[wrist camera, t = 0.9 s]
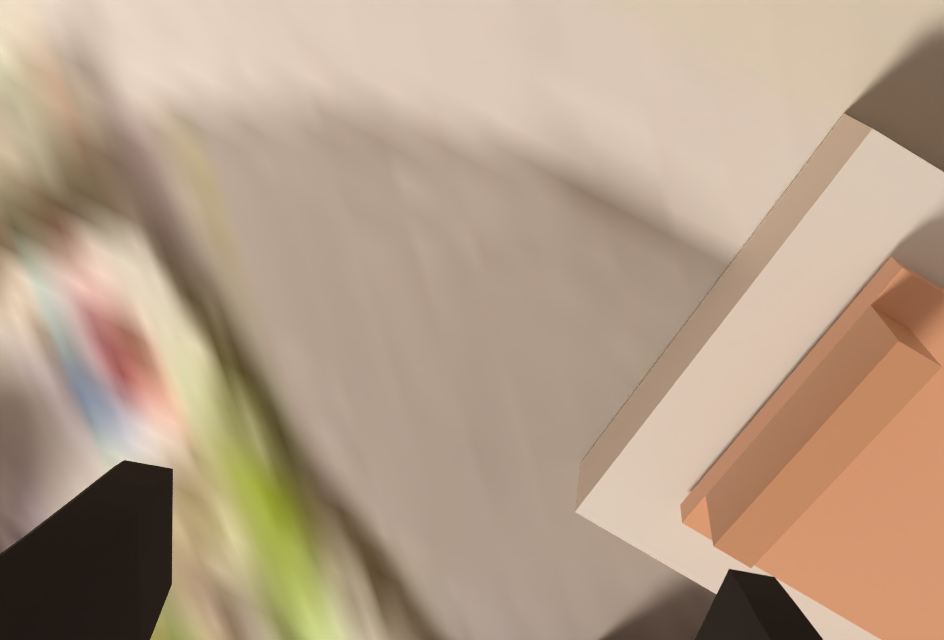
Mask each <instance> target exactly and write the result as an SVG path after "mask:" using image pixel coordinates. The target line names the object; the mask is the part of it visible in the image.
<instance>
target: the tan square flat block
mask: <svg viewBox="0 0 944 640" xmlns="http://www.w3.org/2000/svg"><path fill="white" fill-rule="evenodd" d="M680 508H681V518H682V523H683V524H685V525H686V526H688V527H690V528H691V529H693V530H695V531H697V532H698V533H700V534H702V535H703V536H705V537H707V538H708V539H710V540H712V541H713V546H714V547H716V548H717V549H719V550H721V551H722V552H724V553H726V554H728V555H729V556H731V557H733V558H734V559H736V560H738V561H739V562H741V563H743V564H745V565H746V566H748V567H750V568H752V567H753V566H754V565H755V566H756V567H758V568H760V569H761V570H763V571H765V572H766V573H768V574H770V575H772V576H773V577H775V578H777V579H778V580H780V581H782V582H783V583H785V584H787V585H789V586H790V587H792V588H794V589H795V590H797V591H799V592H801V593H802V594H804V595H806V596H807V597H809V598H811V599H812V600H814V601H816V602H818V603H819V604H821V605H823V606H824V607H826V608H828V609H830V610H831V611H833V612H835V613H836V614H838V615H840V616H841V617H843V618H845V619H847V620H848V621H850V622H852V623H853V624H855V625H857V626H858V627H860V628H862V629H864V630H865V631H867V632H869V633H870V634H872V635H874V636H876V637H877V638H879V639H881V640H944V288H942V287H940V286H939V285H937V284H935V283H934V282H932V281H930V280H929V279H927V278H925V277H924V276H922V275H921V274H919V273H917V272H916V271H914V270H912V269H911V268H909V267H907V266H906V265H904V264H902V263H901V262H899V261H897V260H896V259H894V258H892V257H890V259H889V260H888V261H887V262H886V263H885V264H884V266H883V267H882V268H881V269H880V270H879V272H878V273H877V274H876V275H875V276H874V277H873V279H872V280H871V281H870V282H869V283H868V284H867V286H866V287H865V288H864V289H863V290H862V291H861V293H860V294H859V295H858V296H857V297H856V299H855V300H854V301H853V302H852V303H851V304H850V306H849V307H848V308H847V309H846V310H845V311H844V313H843V314H842V315H841V316H840V317H839V319H838V320H837V321H836V322H835V323H834V324H833V326H832V327H831V328H830V329H829V330H828V331H827V333H826V334H825V335H824V336H823V337H822V339H821V340H820V341H819V342H818V343H817V344H816V346H815V347H814V348H813V349H812V350H811V351H810V353H809V354H808V355H807V356H806V357H805V359H804V360H803V361H802V362H801V363H800V364H799V366H798V367H797V368H796V369H795V370H794V371H793V373H792V374H791V375H790V376H789V377H788V378H787V380H786V381H785V382H784V383H783V384H782V386H781V387H780V388H779V389H778V390H777V391H776V393H775V394H774V395H773V396H772V397H771V398H770V400H769V401H768V402H767V403H766V404H765V406H764V407H763V408H762V409H761V410H760V411H759V413H758V414H757V415H756V416H755V417H754V418H753V420H752V421H751V422H750V423H749V424H748V426H747V427H746V428H745V429H744V430H743V431H742V433H741V434H740V435H739V436H738V437H737V438H736V440H735V441H734V442H733V443H732V444H731V445H730V447H729V448H728V449H727V450H726V451H725V453H724V454H723V455H722V456H721V457H720V458H719V460H718V461H717V462H716V463H715V464H714V465H713V467H712V468H711V469H710V470H709V471H708V473H707V474H706V475H705V476H704V477H703V478H702V480H701V481H700V482H699V483H698V484H697V485H696V487H695V488H694V489H693V490H692V491H691V493H690V494H689V495H688V496H687V497H686V498H685V500H684V501H683V502H682V503H681V504H680Z"/></svg>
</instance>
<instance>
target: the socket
mask: <svg viewBox="0 0 944 640" xmlns="http://www.w3.org/2000/svg"><path fill="white" fill-rule="evenodd" d="M890 257H892V258H894V259H896V260H897V261H899V262H901V263H902V264H904V265H906V266H907V267H909V268H911V269H912V270H914V271H916V272H917V273H919V274H921V275H922V276H924V277H925V278H927V279H929V280H930V281H932V282H934V283H935V284H937V285H939V286H940V287H942V288H944V172H943V171H941V170H939V169H938V168H936V167H935V166H933V165H931V164H930V163H928V162H926V161H925V160H923V159H922V158H920V157H918V156H917V155H915V154H913V153H912V152H910V151H908V150H907V149H905V148H904V147H902V146H900V145H899V144H897V143H895V142H894V141H892V140H891V139H889V138H887V137H886V136H884V135H882V134H881V133H879V132H877V131H876V130H874V129H873V128H871V127H869V126H867V125H865V124H863V123H861V122H859V121H857V120H856V119H854V118H852V117H850V116H848V115H846V114H843V115H842V116H841V118H840V119H839V120H838V122H837V123H836V124H835V126H834V127H833V128H832V130H831V131H830V132H829V134H828V135H827V136H826V138H825V139H824V140H823V142H822V143H821V144H820V146H819V147H818V148H817V150H816V151H815V152H814V154H813V155H812V156H811V158H810V159H809V160H808V162H807V163H806V164H805V166H804V167H803V168H802V170H801V171H800V172H799V174H798V175H797V176H796V178H795V179H794V180H793V182H792V183H791V184H790V186H789V187H788V188H787V190H786V191H785V192H784V194H783V195H782V196H781V197H780V199H779V200H778V201H777V203H776V204H775V205H774V207H773V208H772V209H771V211H770V212H769V213H768V215H767V216H766V217H765V219H764V220H763V221H762V223H761V224H760V225H759V227H758V228H757V229H756V231H755V232H754V233H753V235H752V236H751V237H750V239H749V240H748V241H747V243H746V244H745V245H744V247H743V248H742V249H741V251H740V252H739V253H738V255H737V256H736V257H735V259H734V260H733V261H732V263H731V264H730V265H729V267H728V268H727V269H726V271H725V272H724V273H723V274H722V276H721V277H720V278H719V280H718V281H717V282H716V284H715V285H714V286H713V288H712V289H711V290H710V292H709V293H708V294H707V296H706V297H705V298H704V300H703V301H702V302H701V304H700V305H699V306H698V308H697V309H696V310H695V312H694V313H693V314H692V316H691V317H690V318H689V320H688V321H687V322H686V324H685V325H684V326H683V328H682V329H681V330H680V332H679V333H678V334H677V336H676V337H675V338H674V340H673V341H672V342H671V344H670V345H669V346H668V348H667V349H666V350H665V352H664V353H663V354H662V355H661V357H660V358H659V359H658V361H657V362H656V363H655V365H654V366H653V367H652V369H651V370H650V371H649V373H648V374H647V375H646V377H645V378H644V379H643V381H642V382H641V383H640V385H639V386H638V387H637V389H636V390H635V391H634V393H633V394H632V395H631V397H630V398H629V399H628V401H627V402H626V403H625V405H624V406H623V407H622V409H621V410H620V411H619V413H618V414H617V415H616V417H615V418H614V419H613V421H612V422H611V423H610V425H609V426H608V427H607V429H606V430H605V431H604V433H603V434H602V435H601V436H600V438H599V439H598V440H597V442H596V443H595V444H594V446H593V447H592V448H591V450H590V451H589V452H588V454H587V455H586V456H585V458H584V459H583V460H582V462H581V463H580V470H579V479H578V489H577V498H576V508H575V512H576V513H578V514H580V515H581V516H583V517H585V518H587V519H588V520H590V521H592V522H593V523H595V524H597V525H598V526H600V527H602V528H604V529H605V530H607V531H609V532H610V533H612V534H614V535H616V536H617V537H619V538H621V539H622V540H624V541H626V542H628V543H629V544H631V545H633V546H634V547H636V548H638V549H640V550H641V551H643V552H645V553H646V554H648V555H650V556H652V557H653V558H655V559H657V560H658V561H660V562H662V563H664V564H665V565H667V566H669V567H670V568H672V569H674V570H676V571H677V572H679V573H681V574H682V575H684V576H686V577H688V578H689V579H691V580H693V581H694V582H696V583H698V584H700V585H701V586H703V587H705V588H706V589H708V590H710V591H711V592H713V593H715V594H717V593H718V591H719V589H720V586H721V584H722V582H723V580H724V578H725V576H726V574H727V572H728V570H729V569H733V570H739V571H744V572H750V573H756V574H761V575H767V576H772V575H770V574H768V573H766V572H765V571H763V570H761V569H760V568H758V567H756V566H755V565H754V566H753V567H752V568H750V567H748V566H746V565H745V564H743V563H741V562H739V561H738V560H736V559H734V558H733V557H731V556H729V555H728V554H726V553H724V552H722V551H721V550H719V549H717V548H716V547H714V546H713V541H712V540H710V539H708V538H707V537H705V536H703V535H702V534H700V533H698V532H697V531H695V530H693V529H691V528H690V527H688V526H686V525H685V524H683V523H682V518H681V508H680V504H681V503H682V502H683V501H684V500H685V498H686V497H687V496H688V495H689V494H690V493H691V491H692V490H693V489H694V488H695V487H696V485H697V484H698V483H699V482H700V481H701V480H702V478H703V477H704V476H705V475H706V474H707V473H708V471H709V470H710V469H711V468H712V467H713V465H714V464H715V463H716V462H717V461H718V460H719V458H720V457H721V456H722V455H723V454H724V453H725V451H726V450H727V449H728V448H729V447H730V445H731V444H732V443H733V442H734V441H735V440H736V438H737V437H738V436H739V435H740V434H741V433H742V431H743V430H744V429H745V428H746V427H747V426H748V424H749V423H750V422H751V421H752V420H753V418H754V417H755V416H756V415H757V414H758V413H759V411H760V410H761V409H762V408H763V407H764V406H765V404H766V403H767V402H768V401H769V400H770V398H771V397H772V396H773V395H774V394H775V393H776V391H777V390H778V389H779V388H780V387H781V386H782V384H783V383H784V382H785V381H786V380H787V378H788V377H789V376H790V375H791V374H792V373H793V371H794V370H795V369H796V368H797V367H798V366H799V364H800V363H801V362H802V361H803V360H804V359H805V357H806V356H807V355H808V354H809V353H810V351H811V350H812V349H813V348H814V347H815V346H816V344H817V343H818V342H819V341H820V340H821V339H822V337H823V336H824V335H825V334H826V333H827V331H828V330H829V329H830V328H831V327H832V326H833V324H834V323H835V322H836V321H837V320H838V319H839V317H840V316H841V315H842V314H843V313H844V311H845V310H846V309H847V308H848V307H849V306H850V304H851V303H852V302H853V301H854V300H855V299H856V297H857V296H858V295H859V294H860V293H861V291H862V290H863V289H864V288H865V287H866V286H867V284H868V283H869V282H870V281H871V280H872V279H873V277H874V276H875V275H876V274H877V273H878V272H879V270H880V269H881V268H882V267H883V266H884V264H885V263H886V262H887V261H888V260H889V259H890ZM772 577H773V576H772ZM776 579H777V578H776ZM777 580H778V579H777ZM778 582H779V583H780V584H781V585H782V587H783V588H784V589H785V590H786V592H787V593H788V594H789V595H790V597H791V598H792V599H793V601H794V602H795V603H796V604H797V606H798V607H799V608H800V610H801V611H802V612H803V614H804V615H805V616H806V618H807V619H808V620H809V621H810V623H811V624H812V625H813V627H814V628H815V629H816V631H817V632H818V633H819V635H820V636H821V637H822V639H823V640H881V639H879V638H877V637H876V636H874V635H872V634H870V633H869V632H867V631H865V630H864V629H862V628H860V627H858V626H857V625H855V624H853V623H852V622H850V621H848V620H847V619H845V618H843V617H841V616H840V615H838V614H836V613H835V612H833V611H831V610H830V609H828V608H826V607H824V606H823V605H821V604H819V603H818V602H816V601H814V600H812V599H811V598H809V597H807V596H806V595H804V594H802V593H801V592H799V591H797V590H795V589H794V588H792V587H790V586H789V585H787V584H785V583H783V582H782V581H780V580H778Z"/></svg>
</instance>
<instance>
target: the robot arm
mask: <svg viewBox="0 0 944 640" xmlns="http://www.w3.org/2000/svg"><path fill="white" fill-rule="evenodd" d="M172 497H173V469H170V468H165V467H159V466H153V465H148V464H142V463H137V462H131V461H126V460H124V461H122V462H121V463H119V464H118V465H116V466H114V467H113V468H112V469H111V470H109V471H108V472H107V473H105V474H104V475H103V476H102V477H100V478H99V479H98V480H96V481H95V482H94V483H93V484H91V485H90V486H89V487H88V488H86V489H85V490H84V491H82V492H81V493H80V494H79V495H77V496H76V497H75V498H74V499H72V500H71V501H70V502H68V503H67V504H66V505H65V506H63V507H62V508H61V509H59V510H58V511H57V512H56V513H54V514H53V515H52V516H50V517H49V518H48V519H46V520H45V521H44V522H42V523H41V524H40V525H39V526H37V527H36V528H35V529H33V530H32V531H31V532H29V533H28V534H27V535H25V536H24V537H23V538H21V539H20V540H19V541H17V542H16V543H15V544H13V545H12V546H10V547H9V548H8V549H6V550H5V551H4V552H2V553H1V554H0V640H150V638H151V635H152V633H153V631H154V628H155V626H156V623H157V621H158V618H159V615H160V613H161V610H162V608H163V605H164V603H165V600H166V597H167V595H168V592H169V590H170V587H171V585H172ZM695 640H823V639H822V637H821V636H820V635H819V633H818V632H817V631H816V629H815V628H814V627H813V625H812V624H811V623H810V621H809V620H808V619H807V618H806V616H805V615H804V614H803V612H802V611H801V610H800V608H799V607H798V606H797V604H796V603H795V602H794V601H793V599H792V598H791V597H790V595H789V594H788V593H787V592H786V590H785V589H784V588H783V587H782V585H781V584H780V583H779V582H778V580H777V579H776V578H775V577H772V576H767V575H761V574H756V573H750V572H744V571H739V570H733V569H729V570H728V572H727V574H726V576H725V578H724V580H723V582H722V584H721V586H720V589H719V591H718V593H717V595H716V597H715V599H714V601H713V603H712V605H711V607H710V609H709V612H708V614H707V616H706V618H705V620H704V622H703V624H702V626H701V628H700V630H699V632H698V634H697V637H696V639H695Z"/></svg>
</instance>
